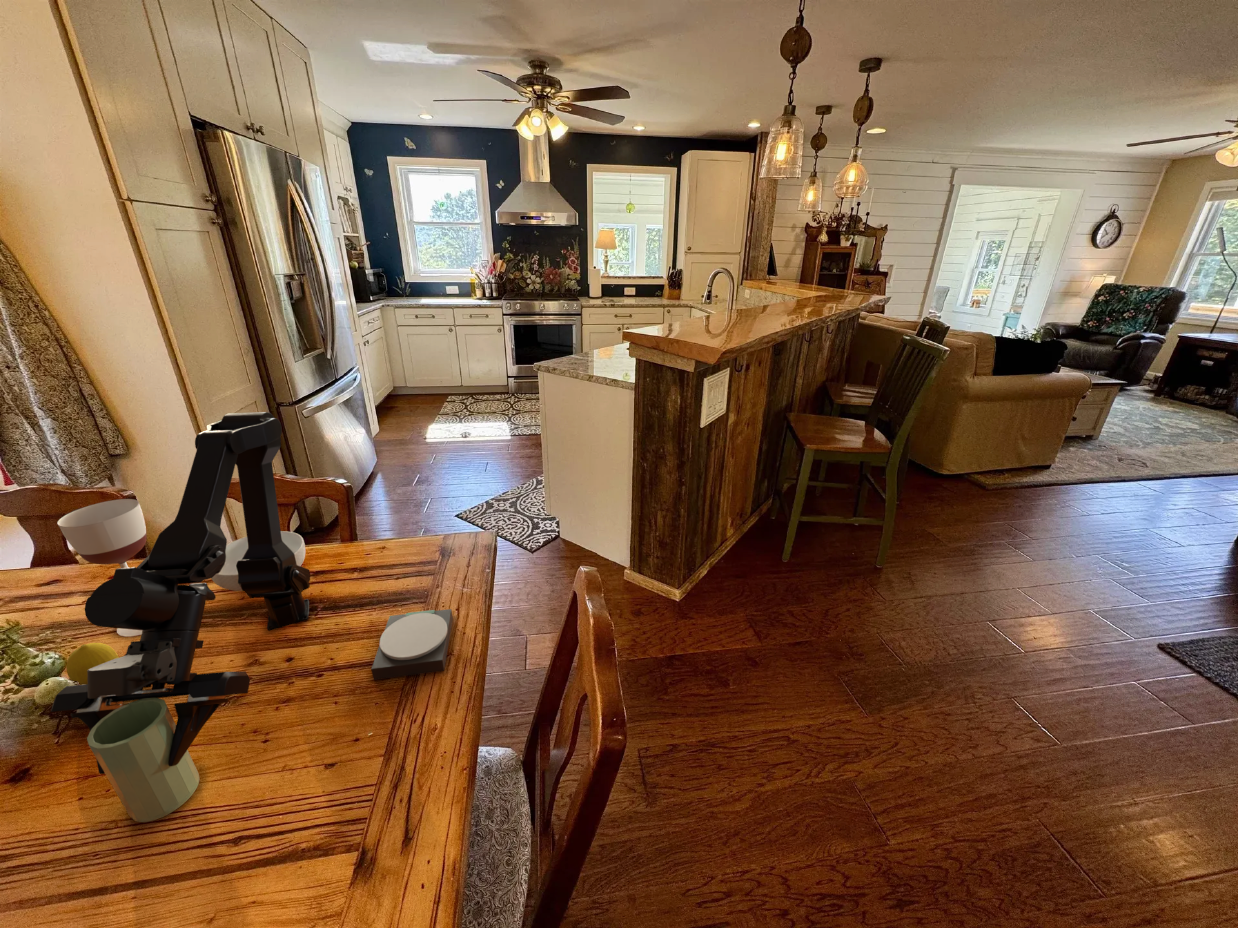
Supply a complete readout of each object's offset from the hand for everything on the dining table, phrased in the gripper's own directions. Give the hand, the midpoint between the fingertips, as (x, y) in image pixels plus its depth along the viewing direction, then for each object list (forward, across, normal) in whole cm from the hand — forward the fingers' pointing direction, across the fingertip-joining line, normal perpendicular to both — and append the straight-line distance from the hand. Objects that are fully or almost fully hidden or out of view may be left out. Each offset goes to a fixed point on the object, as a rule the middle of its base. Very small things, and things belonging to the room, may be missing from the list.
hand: (138, 769), depth 59 cm
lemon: (-11, -22, +20) cm, 32 cm away
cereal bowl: (-30, -11, +39) cm, 50 cm away
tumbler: (+4, 0, +6) cm, 7 cm away
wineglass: (-22, -26, +31) cm, 46 cm away
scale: (-12, +26, +22) cm, 36 cm away
